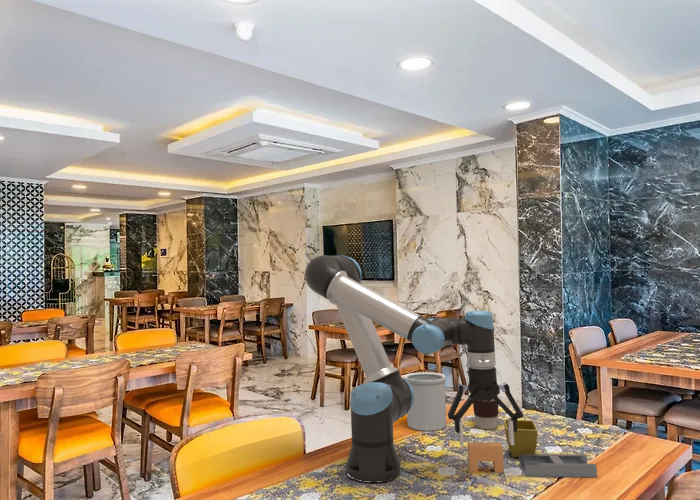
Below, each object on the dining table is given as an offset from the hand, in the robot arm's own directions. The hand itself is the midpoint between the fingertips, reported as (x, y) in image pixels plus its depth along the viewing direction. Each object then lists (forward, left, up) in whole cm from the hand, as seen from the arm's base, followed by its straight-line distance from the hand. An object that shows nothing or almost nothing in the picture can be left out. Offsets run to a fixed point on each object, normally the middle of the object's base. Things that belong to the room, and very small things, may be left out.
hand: (486, 444), depth 137 cm
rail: (+19, 0, -7) cm, 20 cm away
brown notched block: (0, 0, -7) cm, 7 cm away
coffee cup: (+6, +38, -7) cm, 39 cm away
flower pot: (+12, +11, -7) cm, 18 cm away
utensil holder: (-14, +39, -7) cm, 42 cm away
